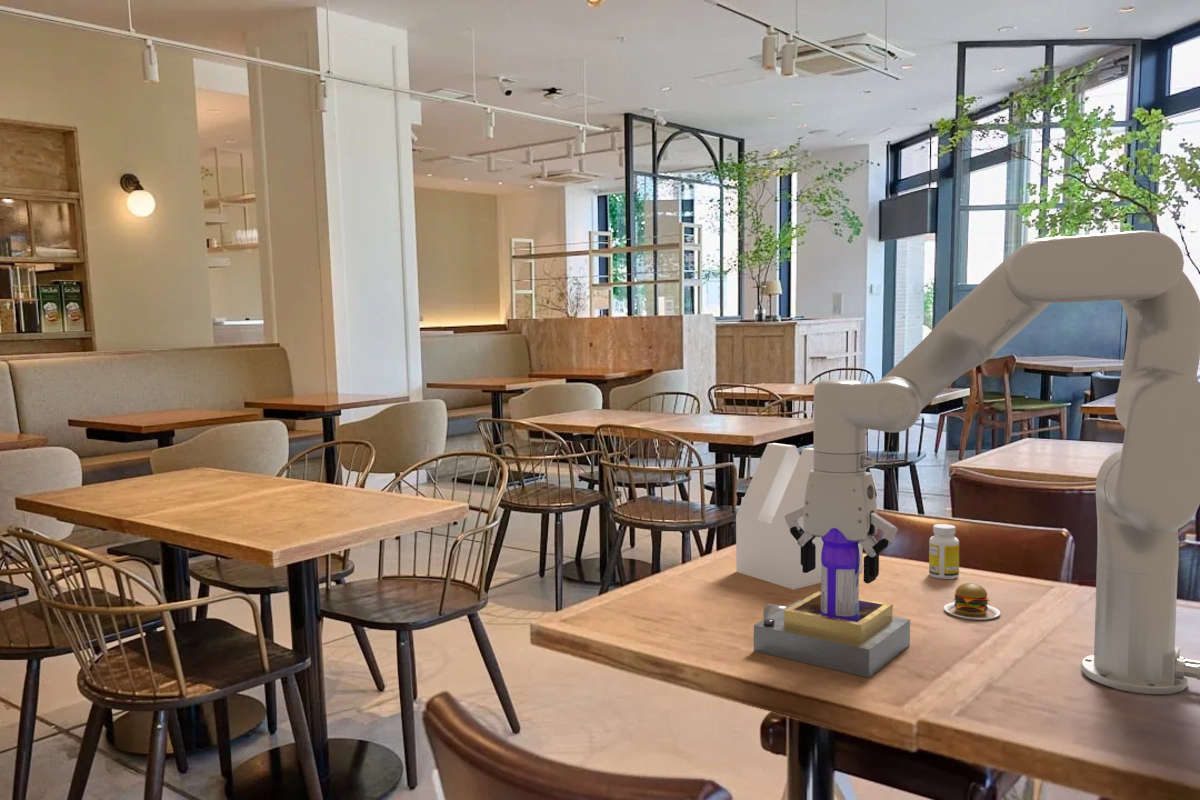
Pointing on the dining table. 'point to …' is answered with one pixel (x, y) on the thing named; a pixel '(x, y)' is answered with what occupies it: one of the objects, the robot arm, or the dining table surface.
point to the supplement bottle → (944, 552)
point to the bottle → (840, 577)
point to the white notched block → (776, 519)
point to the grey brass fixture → (833, 635)
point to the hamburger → (971, 602)
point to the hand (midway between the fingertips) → (838, 575)
